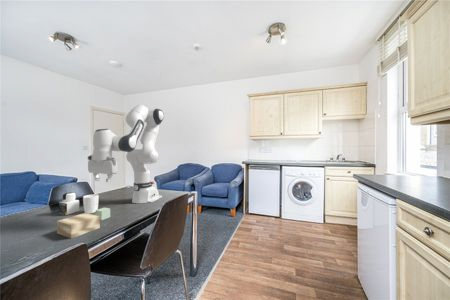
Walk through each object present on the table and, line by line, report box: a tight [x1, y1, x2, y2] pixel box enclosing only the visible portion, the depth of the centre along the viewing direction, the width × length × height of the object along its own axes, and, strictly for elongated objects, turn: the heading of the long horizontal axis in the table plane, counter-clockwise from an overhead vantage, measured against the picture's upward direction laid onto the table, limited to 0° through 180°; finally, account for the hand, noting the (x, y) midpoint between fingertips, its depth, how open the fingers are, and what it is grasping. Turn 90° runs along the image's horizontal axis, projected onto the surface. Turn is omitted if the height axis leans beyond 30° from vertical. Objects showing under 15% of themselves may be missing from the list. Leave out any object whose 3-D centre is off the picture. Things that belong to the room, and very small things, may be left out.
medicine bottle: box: [58, 192, 80, 216], centre depth 113 cm, size 7×7×12 cm
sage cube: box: [95, 207, 111, 221], centre depth 104 cm, size 5×5×5 cm
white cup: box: [82, 193, 100, 214], centre depth 114 cm, size 8×8×10 cm
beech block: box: [56, 213, 101, 239], centre depth 88 cm, size 12×12×6 cm
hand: (102, 181), depth 104 cm, fingers open, 8 cm apart
